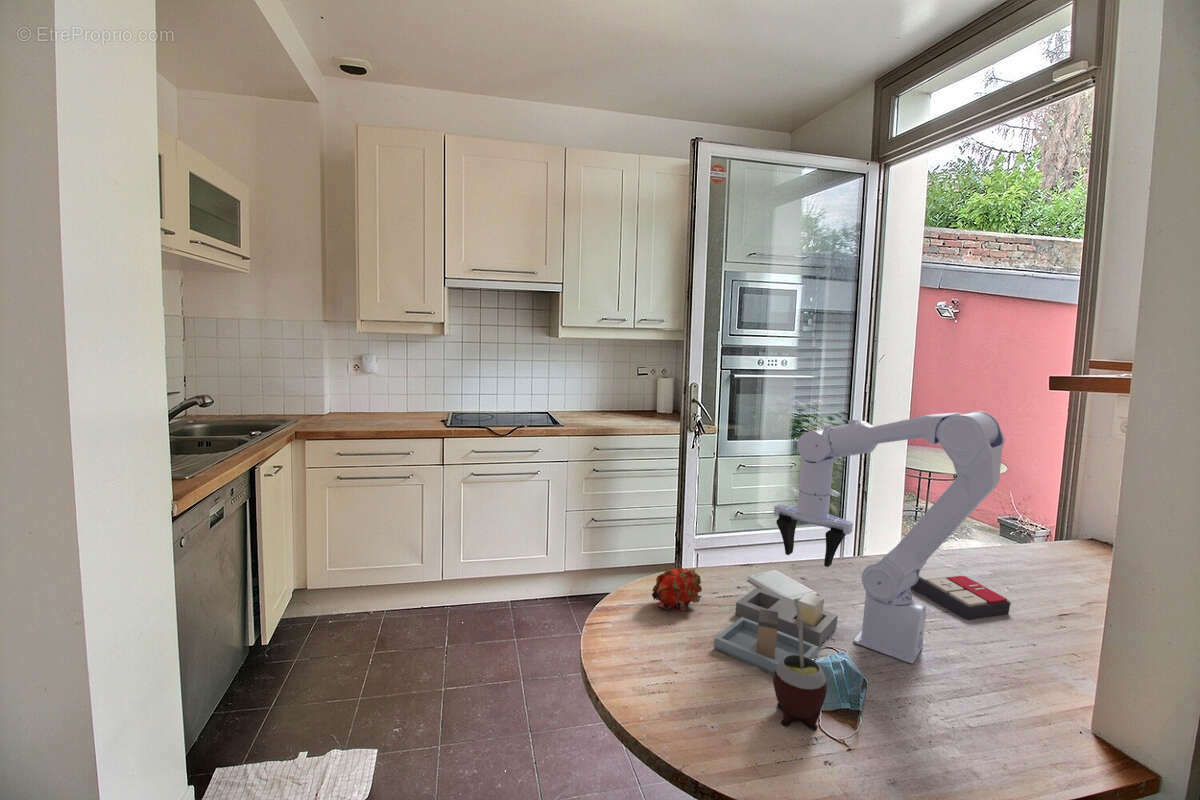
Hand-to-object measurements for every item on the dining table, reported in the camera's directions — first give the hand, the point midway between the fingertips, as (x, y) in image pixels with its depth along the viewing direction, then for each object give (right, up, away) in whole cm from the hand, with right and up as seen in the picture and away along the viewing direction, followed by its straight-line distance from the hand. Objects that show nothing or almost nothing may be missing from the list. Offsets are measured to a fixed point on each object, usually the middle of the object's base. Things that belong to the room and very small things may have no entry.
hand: (808, 559), depth 112 cm
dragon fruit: (-26, -10, +1) cm, 28 cm away
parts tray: (-13, -12, -15) cm, 23 cm away
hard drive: (-2, -10, +10) cm, 15 cm away
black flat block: (+34, -11, +8) cm, 37 cm away
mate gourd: (-13, -14, -30) cm, 35 cm away
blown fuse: (-12, -11, -15) cm, 22 cm away
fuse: (-2, -11, -6) cm, 13 cm away
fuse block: (-6, -11, -3) cm, 13 cm away
